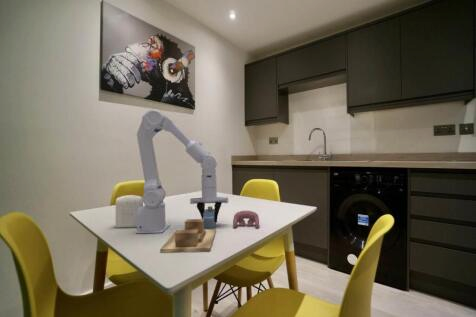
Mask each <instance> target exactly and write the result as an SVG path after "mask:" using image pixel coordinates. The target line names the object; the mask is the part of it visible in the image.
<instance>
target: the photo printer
mask: <svg viewBox="0 0 476 317" xmlns="http://www.w3.org/2000/svg"><path fill="white" fill-rule="evenodd" d="M142 206H144V202H143V196H141V195H135V194H130V195H122V196H119V197H117V198H116V200H115V228H137V211H138V209H139V208H140V207H142Z"/></svg>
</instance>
